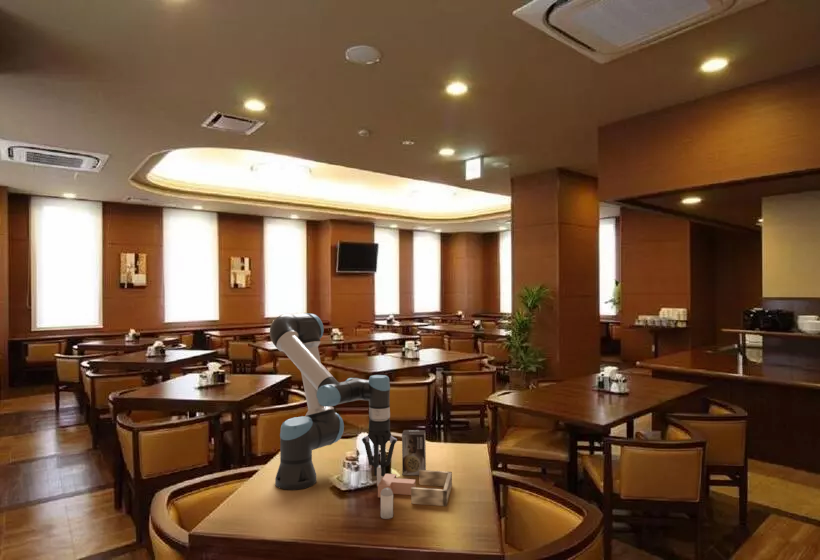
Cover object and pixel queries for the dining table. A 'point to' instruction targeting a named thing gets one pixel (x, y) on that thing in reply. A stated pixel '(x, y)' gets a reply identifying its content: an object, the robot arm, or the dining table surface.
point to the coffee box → (413, 452)
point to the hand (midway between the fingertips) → (379, 484)
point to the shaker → (386, 503)
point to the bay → (432, 495)
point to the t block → (396, 484)
